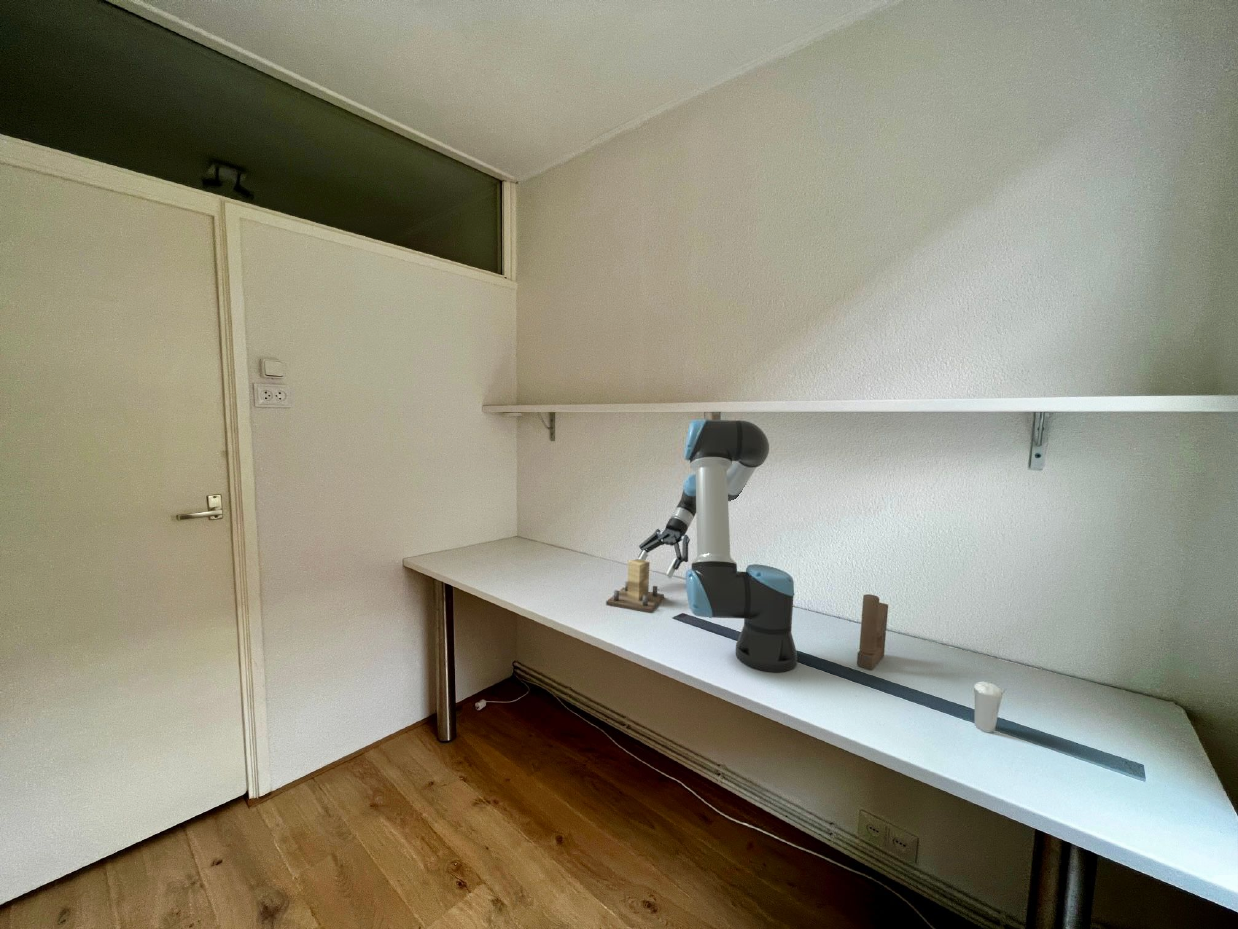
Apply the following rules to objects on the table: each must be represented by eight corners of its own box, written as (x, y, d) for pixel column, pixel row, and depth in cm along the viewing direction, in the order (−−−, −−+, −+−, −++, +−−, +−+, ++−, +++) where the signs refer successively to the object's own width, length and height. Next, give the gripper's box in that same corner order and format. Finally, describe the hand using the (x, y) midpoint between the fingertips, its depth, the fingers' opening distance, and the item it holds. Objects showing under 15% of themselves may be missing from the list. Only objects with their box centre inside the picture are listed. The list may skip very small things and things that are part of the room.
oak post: (638, 600, 160) (639, 565, 159) (627, 596, 164) (628, 561, 163) (648, 597, 164) (649, 562, 163) (637, 593, 167) (638, 558, 166)
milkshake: (994, 740, 95) (999, 690, 94) (965, 724, 100) (970, 677, 99) (1008, 734, 97) (1013, 686, 96) (979, 719, 102) (983, 673, 101)
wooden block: (884, 657, 128) (889, 590, 127) (871, 671, 120) (877, 600, 119) (869, 652, 131) (874, 586, 129) (856, 665, 123) (861, 596, 121)
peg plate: (649, 612, 153) (650, 599, 153) (606, 604, 159) (606, 592, 159) (663, 597, 167) (664, 585, 167) (623, 590, 173) (623, 579, 172)
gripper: (712, 535, 173) (686, 586, 163) (656, 523, 190) (629, 569, 180) (704, 522, 169) (678, 574, 159) (648, 511, 185) (620, 558, 175)
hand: (652, 571), depth 169 cm, fingers open, 13 cm apart
